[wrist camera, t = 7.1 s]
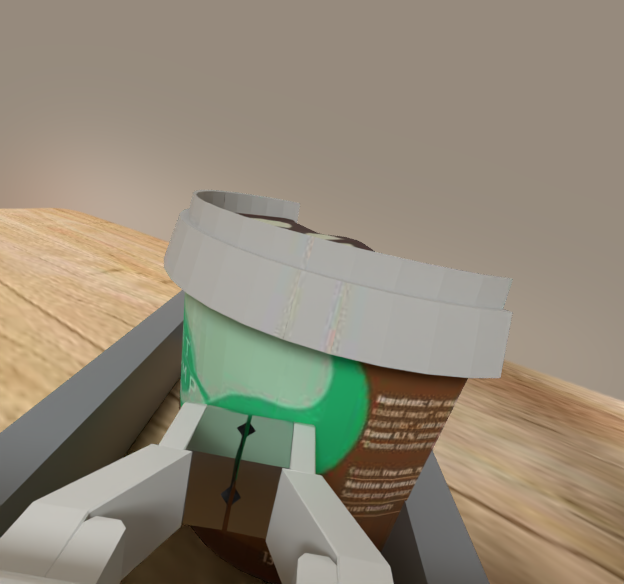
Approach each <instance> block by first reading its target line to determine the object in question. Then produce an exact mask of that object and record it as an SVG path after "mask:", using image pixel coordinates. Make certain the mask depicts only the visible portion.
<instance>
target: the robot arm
mask: <svg viewBox="0 0 624 584" xmlns="http://www.w3.org/2000/svg"><path fill="white" fill-rule="evenodd" d="M248 419H249V413H244V412H239V411H235V410H230V409H226V408H221V407H216V406H212V405H207V404H202V403H197V402H192V401H187V402H185V403H184V404H183V406H182V407H181V409H180V410H179V412H178V414H177V415H176V417H175V419H174V420H173V422H172V424H171V425H170V427H169V428H168V430H167V432H166V433H165V435H164V437H163V438H162V440H161V442H160V443H159V445H156V444H150V445H148V446H146V447H144V448H142V449H140V450H138V451H136V452H134V453H132V454H130V455H128V456H126V457H124V458H122V459H120V460H118V461H116V462H114V463H112V464H110V465H107V466H105V467H103V468H101V469H99V470H97V471H95V472H93V473H91V474H89V475H87V476H85V477H83V478H81V479H79V480H77V481H75V482H73V483H71V484H69V485H67V486H65V487H63V488H61V489H58V490H56V491H54V492H52V493H50V494H48V495H46V496H44V497H42V498H40V499H38V500H36V501H34V502H32V504H31V505H30V506H29V507H28V508H27V509H26V510H25V511H24V512H23V514H22V515H21V516H20V517H19V518H18V519H17V520H16V521H15V522H14V524H13V525H12V526H11V527H10V528H9V529H8V530H7V531H6V532H5V534H4V535H3V536H2V537H1V538H0V584H120V581H121V580H122V579H123V578H124V577H125V576H127V575H128V574H129V573H130V572H131V571H132V570H133V569H134V568H135V567H137V566H138V565H139V564H140V563H141V562H142V561H143V560H144V559H145V558H147V557H148V556H149V555H150V554H151V553H152V552H153V551H154V550H155V549H156V548H158V547H159V546H160V545H161V544H162V543H163V542H164V541H165V540H166V539H168V538H169V537H170V536H171V535H172V534H173V533H174V532H175V531H176V530H178V529H179V528H180V527H181V524H185V525H192V526H199V527H206V528H213V529H219V530H222V527H223V524H224V520H225V517H226V513H227V510H228V506H229V502H230V497H231V492H232V488H233V487H234V484H235V480H236V477H237V480H236V484H235V488H236V490H235V493H234V497H233V501H232V505H231V510H230V516H229V521H228V527H227V531H230V532H235V533H240V534H245V535H249V536H254V537H259V538H264V539H266V544H267V546H268V549H269V551H270V554H271V557H272V559H273V562H274V564H275V567H276V569H277V572H278V575H279V577H280V580H281V582H282V584H394V583H393V578H392V573H391V567H390V565H389V564H388V563H387V561H386V560H385V559H384V557H383V556H382V555H381V553H380V552H379V551H378V549H377V548H376V547H375V545H374V544H373V543H372V541H371V540H370V539H369V537H368V536H367V535H366V533H365V532H364V531H363V530H362V528H361V527H360V526H359V524H358V523H357V522H356V520H355V519H354V518H353V516H352V515H351V514H350V512H349V511H348V510H347V508H346V507H345V506H344V504H343V503H342V502H341V500H340V499H339V498H338V496H337V495H336V494H335V492H334V491H333V490H332V489H331V487H330V486H329V485H328V483H327V482H326V481H325V479H324V478H323V477H322V476H321V475H316V474H315V426H314V425H312V424H305V423H299V422H290V421H284V420H279V419H273V418H268V417H262V416H257V415H253V416H252V420H251V423H250V428H249V432H248V437H246V441H245V445H244V444H243V441H244V437H245V433H246V430H247V424H248ZM243 445H244V449H243ZM242 450H243V452H242ZM241 455H242V456H241ZM239 464H240V465H239ZM238 468H239V470H238ZM237 473H238V475H237Z"/></svg>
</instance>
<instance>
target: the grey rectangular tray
mask: <svg viewBox="0 0 624 584" xmlns="http://www.w3.org/2000/svg"><path fill="white" fill-rule="evenodd" d="M184 300H185V291H183V290H182V291H181V292H179V293H178V294H177V295H175V296H174V297H173V298H172V299H170V300H169V301H168V302H167V303H165V304H164V305H163V306H161V307H160V308H159V309H158V310H156V311H155V312H154V313H153V314H151V315H150V316H149V317H147V318H146V319H145V320H144V321H142V322H141V323H140V324H139V325H137V326H136V327H135V328H133V329H132V330H131V331H130V332H128V333H127V334H126V335H125V336H123V337H122V338H121V339H119V340H118V341H117V342H116V343H114V344H113V345H112V346H111V347H109V348H108V349H107V350H105V351H104V352H103V353H102V354H100V355H99V356H98V357H97V358H95V359H94V360H93V361H91V362H90V363H89V364H88V365H86V366H85V367H84V368H83V369H81V370H80V371H79V372H77V373H76V374H75V375H74V376H72V377H71V378H70V379H69V380H67V381H66V382H65V383H63V384H62V385H61V386H60V387H58V388H57V389H56V390H55V391H53V392H52V393H51V394H49V395H48V396H47V397H46V398H44V399H43V400H42V401H41V402H39V403H38V404H37V405H35V406H34V407H33V408H32V409H30V410H29V411H28V412H27V413H25V414H24V415H23V416H21V417H20V418H19V419H18V420H16V421H15V422H14V423H13V424H11V425H10V426H9V427H7V428H6V429H5V430H4V431H2V432H1V433H0V538H1V537H2V536H3V535H4V534H5V532H6V531H7V530H8V529H9V528H10V527H11V526H12V525H13V524H14V522H15V521H16V520H17V519H18V518H19V517H20V516H21V515H22V514H23V512H24V511H25V510H26V509H27V508H28V507H29V506H30V505H31V504H32V502H34V501H36V500H38V499H40V498H42V497H44V496H46V495H48V494H50V493H52V492H54V491H56V490H58V489H61V488H63V487H65V486H67V485H69V484H71V483H73V482H75V481H77V480H79V479H81V478H83V477H85V476H87V475H89V474H91V473H93V472H95V471H97V470H99V469H101V468H103V467H105V466H107V465H110V464H112V463H114V462H116V461H118V460H120V459H122V458H123V456H124V455H125V453H126V452H127V451H128V449H129V448H130V446H131V445H132V444H133V442H134V441H135V439H136V438H137V437H138V435H139V434H140V432H141V431H142V430H143V428H144V427H145V425H146V424H147V423H148V421H149V420H150V418H151V417H152V416H153V414H154V413H155V411H156V410H157V409H158V407H159V406H160V404H161V403H162V401H163V400H164V399H165V397H166V396H167V394H168V393H169V392H170V390H171V389H172V387H173V386H174V385H175V383H176V382H177V380H178V379H179V378H180V376H181V362H182V342H183V321H184ZM381 555H382V556H383V557H384V559H385V560H386V561H387V563H388V564H389V565H390V567H391V573H392V578H393V583H394V584H490V583H489V581H488V578H487V576H486V574H485V572H484V569H483V567H482V565H481V562H480V560H479V558H478V555H477V553H476V551H475V548H474V546H473V544H472V541H471V539H470V537H469V534H468V532H467V530H466V527H465V525H464V523H463V520H462V518H461V516H460V514H459V511H458V509H457V507H456V504H455V502H454V500H453V497H452V495H451V493H450V490H449V488H448V486H447V483H446V481H445V479H444V476H443V474H442V472H441V469H440V467H439V465H438V462H437V460H436V458H435V456H434V453H433V451H431V453H430V455H429V457H428V459H427V461H426V463H425V465H424V467H423V469H422V471H421V473H420V475H419V477H418V479H417V482H416V484H415V486H414V488H413V490H412V492H411V494H410V496H409V498H408V500H407V501H405V502H404V504H403V506H402V509H401V511H400V513H399V515H398V518H397V520H396V522H395V524H394V527H393V529H392V531H391V533H390V536H389V538H388V540H387V542H386V544H385V546H384V548H383V550H382V552H381Z"/></svg>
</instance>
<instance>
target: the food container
mask: <svg viewBox="0 0 624 584" xmlns="http://www.w3.org/2000/svg"><path fill="white" fill-rule="evenodd" d="M299 207H300V203H296V202H291V201H286V200H281V199H275V198H270V197H264V196H257V195H251V194H243V193H237V192H227V191H217V190H199V191H195V192H194V193H193V196H192V200H191V205H190V208H189V209H185V210H183V211H182V212H181V213H180V215H179V217H178V220H177V223H176V226H175V229H174V231H173V234H172V237H171V240H170V243H169V245H168V248H167V251H166V254H165V257H164V269H165V270H166V272H167V274H168V275H169V277H170V278H171V280H172V281H173V282H175V283H176V284H177V285H178V286H179V287H180V288H181V289H182V290H183V291H185V300H184V321H183V342H182V362H181V383H180V404H179V410H180V409H181V407H182V406H183V404H184V403H185V402H187V401H192V402H197V403H202V404H207V405H212V406H216V407H221V408H226V409H230V410H235V411H239V412H244V413H249V419H248V424H247V430H246V433H245V437H244V441H243V444H244V445H245V441H246V437H248V432H249V428H250V423H251V420H252V416H253V415H257V416H262V417H268V418H273V419H279V420H284V421H290V422H299V423H305V424H312V425H314V426H315V474H316V475H321V476H322V477H323V478H324V479H325V481H326V482H327V483H328V485H329V486H330V487H331V489H332V490H333V491H334V492H335V494H336V495H337V496H338V498H339V499H340V500H341V502H342V503H343V504H344V506H345V507H346V508H347V510H348V511H349V512H350V514H351V515H352V516H353V518H354V519H355V520H356V522H357V523H358V524H359V526H360V527H361V528H362V530H363V531H364V532H365V533H366V535H367V536H368V537H369V539H370V540H371V541H372V543H373V544H374V545H375V547H376V548H377V549H378V551H379V552H380V553H381V552H382V550H383V548H384V546H385V544H386V542H387V540H388V538H389V536H390V533H391V531H392V529H393V527H394V524H395V522H396V520H397V518H398V515H399V513H400V511H401V509H402V506H403V504H404V502H405V501H407V500H408V498H409V496H410V494H411V492H412V490H413V488H414V486H415V484H416V482H417V479H418V477H419V475H420V473H421V471H422V469H423V467H424V465H425V463H426V461H427V459H428V457H429V455H430V453H431V451H432V449H433V447H434V445H435V443H436V441H437V439H438V437H439V435H440V433H441V431H442V429H443V427H444V425H445V423H446V421H447V419H448V417H449V415H450V413H451V411H452V409H453V407H454V405H455V403H456V401H457V399H458V397H459V395H460V393H461V391H462V389H463V387H464V385H465V383H466V381H467V379H468V378H500V377H501V372H502V367H503V361H504V356H505V351H506V345H507V340H508V335H509V330H510V324H511V319H512V314H513V313H512V312H510V311H508V310H504V309H503V308H504V305H505V302H506V299H507V296H508V293H509V290H510V287H511V283H512V280H513V279H510V278H505V277H498V276H491V275H485V274H479V273H473V272H468V271H463V270H457V269H452V268H446V267H442V266H437V265H432V264H427V263H422V262H418V261H413V260H408V259H403V258H399V257H395V256H390V255H386V254H382V253H377V252H375V251H373V250H372V249H371V248H369V247H368V246H366V245H365V244H363V243H362V242H359V241H357V240H354V239H350V238H347V237H340V236H332V235H324V234H319V233H316V232H314V231H312V230H310V229H308V228H306V227H304V226H301V225H299V224H297V220H298V212H299ZM244 445H243V449H244ZM242 452H243V450H242ZM241 456H242V455H241ZM239 465H240V464H239ZM238 470H239V468H238ZM237 475H238V473H237ZM236 480H237V477H236ZM236 480H235V484H236ZM235 484H234V487H233V488H232V492H231V497H230V502H229V506H228V510H227V513H226V517H225V520H224V524H223V527H222V530H219V529H213V528H206V527H199V526H192V525H190V526H191V527H192V528H193V530H194V531H195V532H196V533H197V535H198V536H199V537H200V538H201V540H202V541H203V542H204V543H205V544H206V545H207V546H208V547H209V548H210V549H212V550H213V551H214V552H215V553H216V554H217V555H218V556H219V557H221V558H222V559H224V560H225V561H227V562H228V563H230V564H232V565H233V566H235V567H236V568H238V569H240V570H241V571H243V572H245V573H248V574H250V575H252V576H255V577H257V578H260V579H262V580H264V581H267V582H271V583H275V584H282V582H281V580H280V577H279V575H278V572H277V569H276V567H275V564H274V562H273V559H272V557H271V554H270V551H269V549H268V546H267V544H266V539H264V538H259V537H254V536H249V535H245V534H240V533H235V532H230V531H227V527H228V521H229V516H230V510H231V505H232V501H233V497H234V493H235V490H236V488H235Z"/></svg>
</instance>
